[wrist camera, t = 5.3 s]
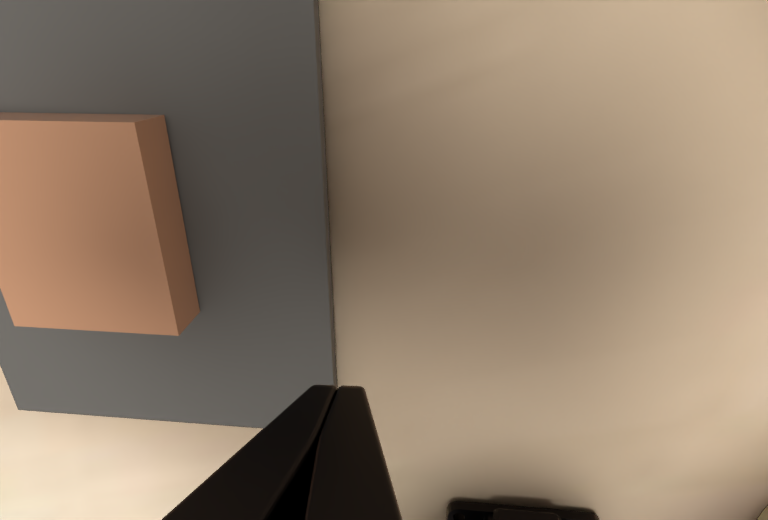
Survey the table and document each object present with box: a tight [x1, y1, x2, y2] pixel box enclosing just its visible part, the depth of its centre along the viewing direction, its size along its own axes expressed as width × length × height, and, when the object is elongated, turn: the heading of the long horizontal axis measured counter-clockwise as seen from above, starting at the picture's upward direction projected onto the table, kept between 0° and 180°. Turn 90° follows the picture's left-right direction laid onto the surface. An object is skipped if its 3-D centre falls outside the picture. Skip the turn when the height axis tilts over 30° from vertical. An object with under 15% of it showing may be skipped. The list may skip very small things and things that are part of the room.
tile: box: [0, 112, 200, 336], centre depth 16 cm, size 7×2×6 cm
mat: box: [0, 0, 337, 428], centre depth 17 cm, size 16×14×1 cm
